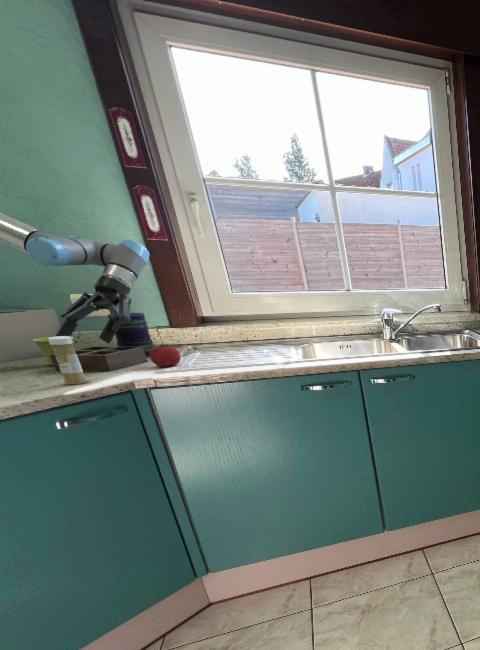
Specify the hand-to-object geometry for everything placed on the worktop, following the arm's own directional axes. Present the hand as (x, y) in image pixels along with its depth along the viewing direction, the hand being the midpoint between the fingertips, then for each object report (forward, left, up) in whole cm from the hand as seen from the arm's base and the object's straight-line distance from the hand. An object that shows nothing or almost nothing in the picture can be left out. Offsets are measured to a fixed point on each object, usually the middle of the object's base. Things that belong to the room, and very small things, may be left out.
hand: (82, 339), depth 145 cm
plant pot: (-26, +20, -12) cm, 35 cm away
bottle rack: (-12, +18, -12) cm, 25 cm away
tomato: (+8, +18, -12) cm, 23 cm away
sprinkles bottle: (-1, -6, -12) cm, 13 cm away
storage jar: (-13, +35, -12) cm, 40 cm away
